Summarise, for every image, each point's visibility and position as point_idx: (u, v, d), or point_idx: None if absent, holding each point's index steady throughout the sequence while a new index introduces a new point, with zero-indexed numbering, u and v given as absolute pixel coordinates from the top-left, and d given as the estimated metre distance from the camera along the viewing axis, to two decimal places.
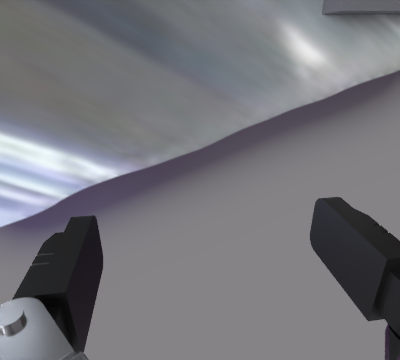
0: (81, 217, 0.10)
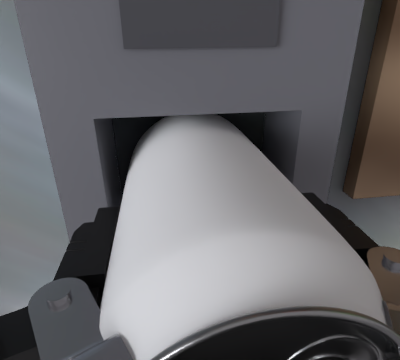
0: (108, 208, 0.10)
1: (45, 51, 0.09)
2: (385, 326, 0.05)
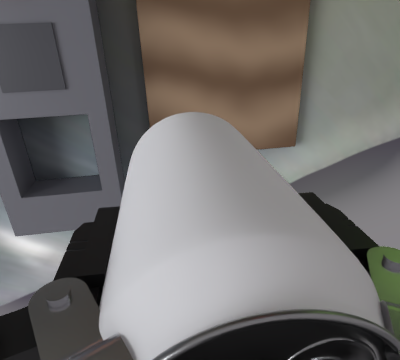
0: (108, 208, 0.10)
1: None
2: (382, 329, 0.05)
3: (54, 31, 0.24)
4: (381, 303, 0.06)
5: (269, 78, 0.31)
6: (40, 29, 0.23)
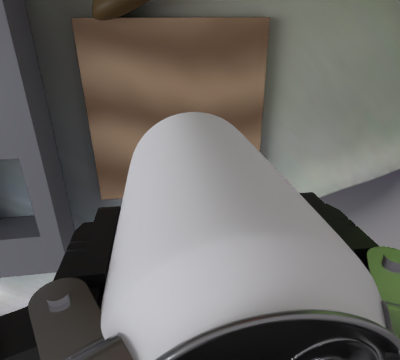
0: (108, 208, 0.10)
1: None
2: (385, 329, 0.05)
3: None
4: None
5: (226, 119, 0.28)
6: None
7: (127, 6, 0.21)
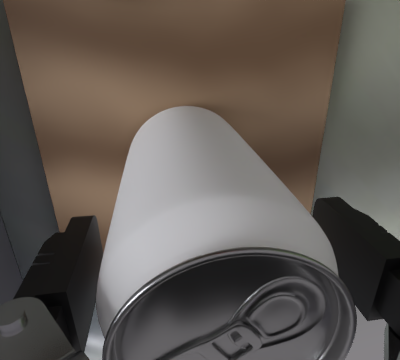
0: (81, 217, 0.10)
1: None
2: (322, 265, 0.06)
3: None
4: None
5: None
6: None
7: None
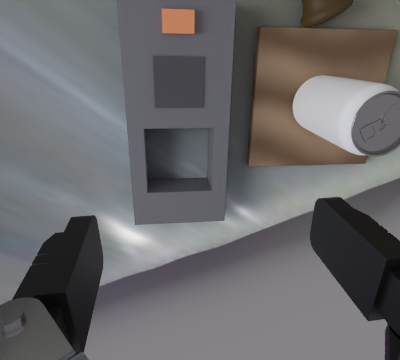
0: (81, 217, 0.10)
1: (131, 108, 0.31)
2: None
3: (203, 63, 0.30)
4: None
5: None
6: (194, 61, 0.30)
7: None
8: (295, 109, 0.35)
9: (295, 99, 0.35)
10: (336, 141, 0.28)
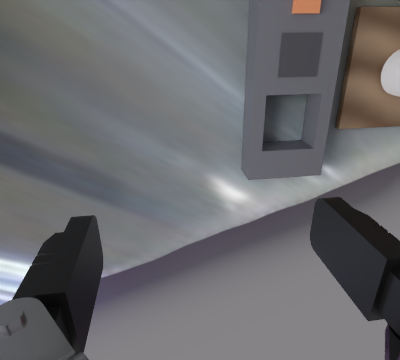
0: (81, 217, 0.10)
1: (259, 77, 0.38)
2: None
3: (320, 38, 0.37)
4: None
5: None
6: (314, 36, 0.36)
7: None
8: (385, 77, 0.42)
9: (385, 68, 0.42)
10: None
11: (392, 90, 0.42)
